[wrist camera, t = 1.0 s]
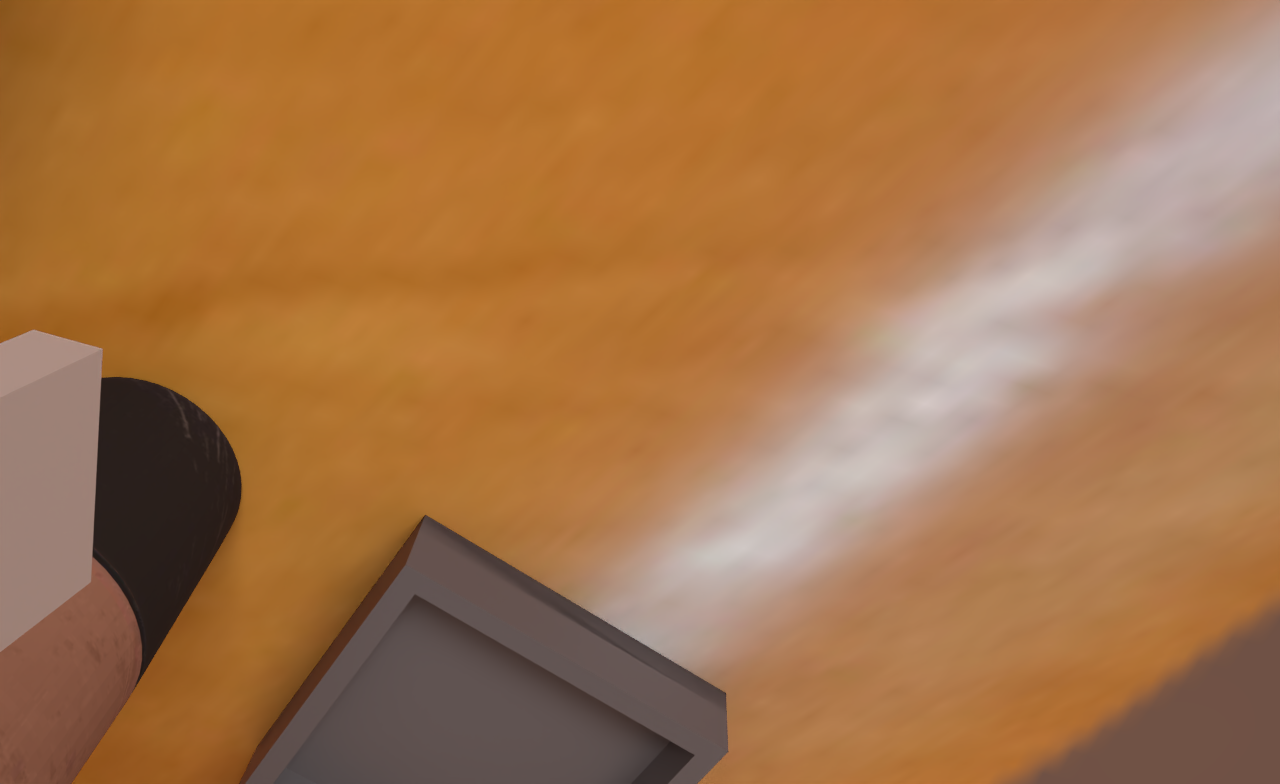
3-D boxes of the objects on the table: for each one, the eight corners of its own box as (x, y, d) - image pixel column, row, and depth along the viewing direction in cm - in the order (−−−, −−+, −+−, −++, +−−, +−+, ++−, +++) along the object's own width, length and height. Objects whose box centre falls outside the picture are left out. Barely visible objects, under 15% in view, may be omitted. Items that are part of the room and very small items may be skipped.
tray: (256, 747, 44) (228, 806, 42) (425, 515, 40) (405, 564, 37) (537, 894, 47) (527, 959, 44) (725, 693, 42) (728, 751, 40)
